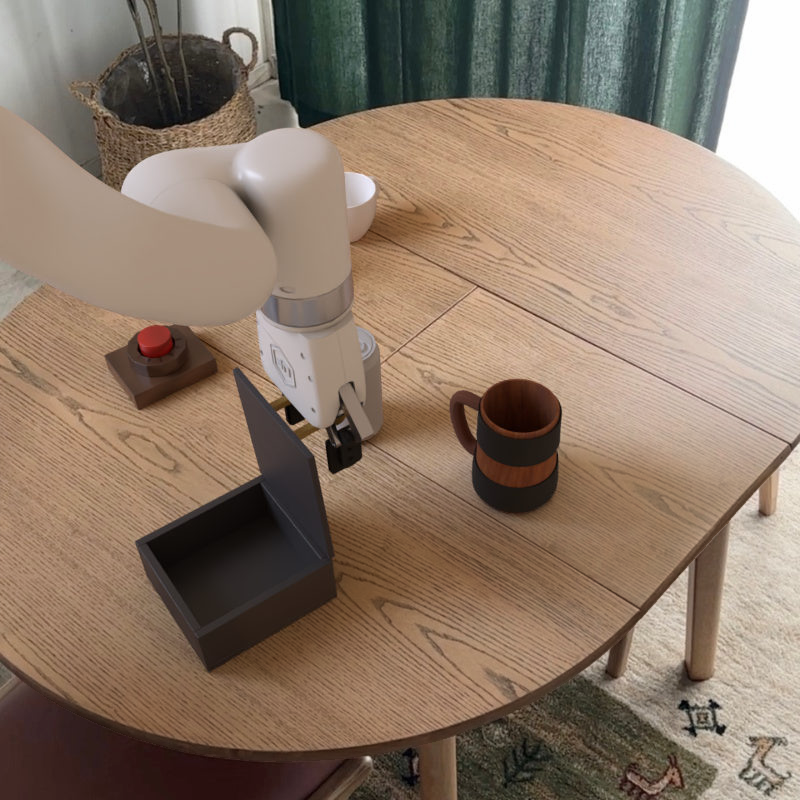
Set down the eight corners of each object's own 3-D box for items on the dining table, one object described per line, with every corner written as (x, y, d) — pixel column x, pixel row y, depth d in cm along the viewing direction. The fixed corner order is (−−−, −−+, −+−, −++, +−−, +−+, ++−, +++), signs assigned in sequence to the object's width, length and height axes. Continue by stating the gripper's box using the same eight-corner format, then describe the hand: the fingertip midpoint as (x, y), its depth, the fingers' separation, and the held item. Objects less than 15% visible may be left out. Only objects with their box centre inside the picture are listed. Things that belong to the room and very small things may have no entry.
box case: (208, 673, 94) (197, 638, 90) (147, 577, 101) (134, 541, 97) (337, 596, 99) (332, 560, 95) (270, 510, 107) (263, 473, 102)
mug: (471, 428, 113) (473, 348, 105) (571, 474, 109) (582, 395, 100) (427, 480, 109) (426, 402, 100) (530, 531, 104) (538, 453, 95)
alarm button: (149, 362, 116) (146, 351, 115) (135, 344, 119) (131, 333, 117) (178, 349, 118) (175, 338, 117) (164, 331, 120) (161, 320, 119)
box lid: (308, 459, 84) (369, 424, 86) (231, 369, 91) (290, 339, 93) (329, 560, 95) (384, 526, 97) (260, 472, 102) (311, 443, 104)
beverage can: (339, 397, 117) (331, 316, 108) (393, 412, 115) (389, 331, 107) (314, 437, 113) (304, 356, 104) (369, 453, 111) (363, 372, 103)
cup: (306, 236, 137) (301, 193, 132) (356, 199, 143) (353, 156, 138) (351, 259, 134) (348, 215, 129) (401, 220, 139) (400, 177, 134)
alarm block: (138, 410, 117) (130, 384, 114) (108, 369, 121) (100, 343, 118) (218, 372, 120) (212, 346, 118) (186, 333, 125) (180, 308, 122)
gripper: (208, 248, 85) (239, 402, 98) (322, 370, 75) (341, 523, 88) (288, 214, 88) (309, 368, 101) (409, 327, 78) (414, 482, 91)
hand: (323, 439), depth 94 cm, fingers open, 6 cm apart
